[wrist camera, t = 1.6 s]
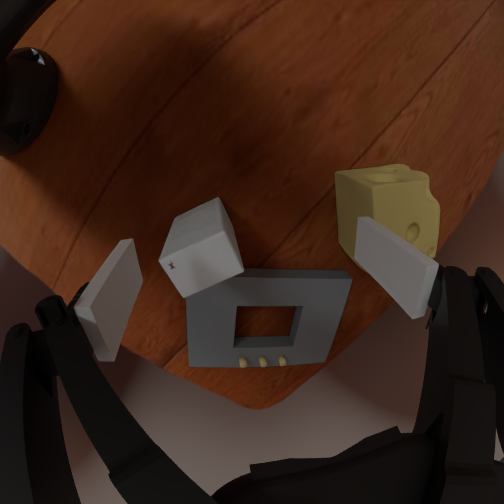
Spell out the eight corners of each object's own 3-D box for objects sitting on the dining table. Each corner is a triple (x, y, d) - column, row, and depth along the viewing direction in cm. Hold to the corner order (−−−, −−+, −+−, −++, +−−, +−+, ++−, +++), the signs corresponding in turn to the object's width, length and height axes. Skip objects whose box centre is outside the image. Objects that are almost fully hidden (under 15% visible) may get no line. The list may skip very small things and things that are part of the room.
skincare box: (190, 246, 34) (181, 300, 23) (174, 216, 32) (155, 260, 21) (234, 226, 34) (246, 273, 23) (220, 194, 32) (223, 228, 21)
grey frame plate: (189, 355, 41) (188, 373, 37) (187, 265, 35) (184, 281, 31) (320, 352, 45) (328, 368, 41) (345, 270, 38) (357, 284, 35)
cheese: (395, 161, 33) (444, 175, 24) (395, 233, 37) (437, 262, 28) (329, 168, 32) (370, 183, 23) (334, 247, 37) (369, 283, 28)
